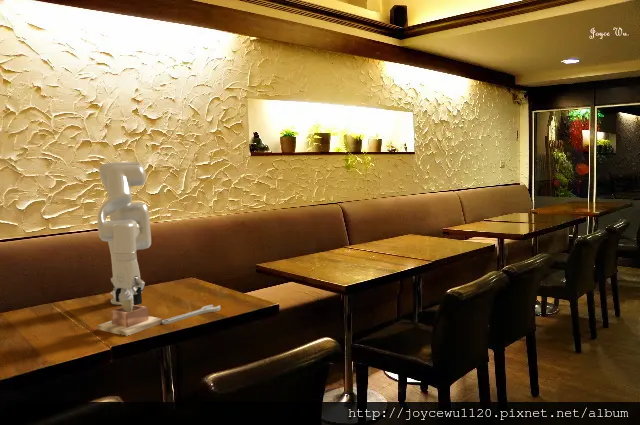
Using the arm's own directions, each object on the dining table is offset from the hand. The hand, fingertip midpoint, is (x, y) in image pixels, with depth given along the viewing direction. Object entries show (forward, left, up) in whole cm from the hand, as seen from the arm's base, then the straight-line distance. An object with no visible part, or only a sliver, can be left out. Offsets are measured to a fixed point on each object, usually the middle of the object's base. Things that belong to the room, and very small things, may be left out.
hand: (128, 302), depth 187 cm
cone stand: (0, 0, -9) cm, 9 cm away
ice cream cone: (0, 0, -7) cm, 7 cm away
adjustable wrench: (+11, +19, -9) cm, 24 cm away
